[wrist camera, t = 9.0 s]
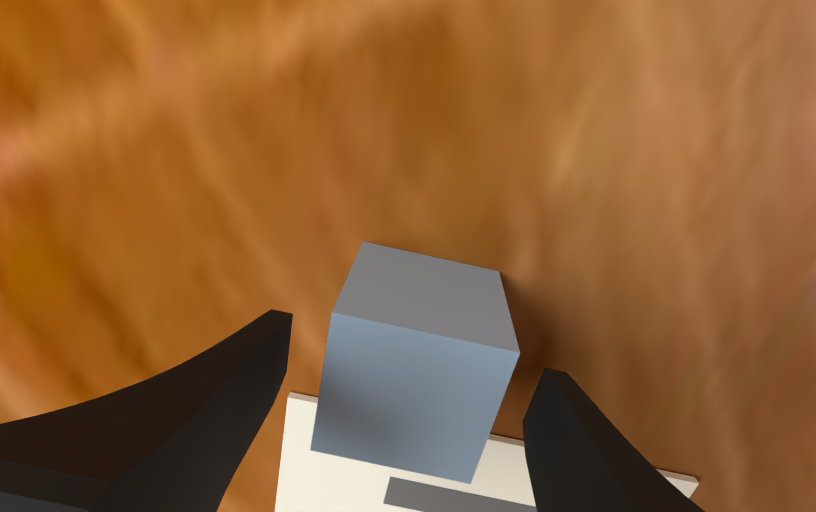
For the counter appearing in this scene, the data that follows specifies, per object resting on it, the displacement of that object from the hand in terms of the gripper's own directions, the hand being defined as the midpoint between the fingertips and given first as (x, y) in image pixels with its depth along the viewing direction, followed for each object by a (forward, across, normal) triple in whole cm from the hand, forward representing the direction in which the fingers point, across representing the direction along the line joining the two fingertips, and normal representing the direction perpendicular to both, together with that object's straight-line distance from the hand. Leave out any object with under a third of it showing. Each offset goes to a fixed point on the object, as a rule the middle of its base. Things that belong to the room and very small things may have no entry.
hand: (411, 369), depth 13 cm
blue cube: (+3, 0, 0) cm, 3 cm away
